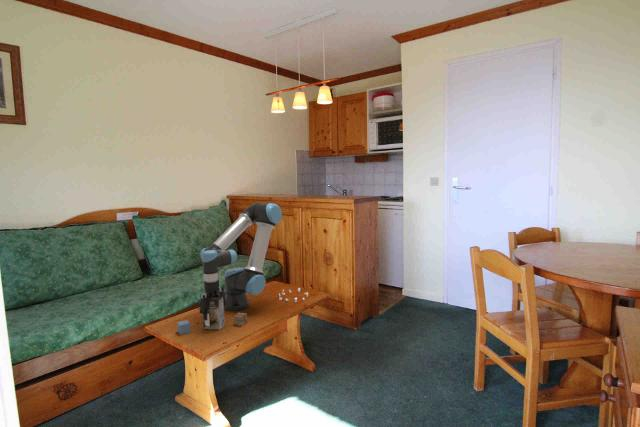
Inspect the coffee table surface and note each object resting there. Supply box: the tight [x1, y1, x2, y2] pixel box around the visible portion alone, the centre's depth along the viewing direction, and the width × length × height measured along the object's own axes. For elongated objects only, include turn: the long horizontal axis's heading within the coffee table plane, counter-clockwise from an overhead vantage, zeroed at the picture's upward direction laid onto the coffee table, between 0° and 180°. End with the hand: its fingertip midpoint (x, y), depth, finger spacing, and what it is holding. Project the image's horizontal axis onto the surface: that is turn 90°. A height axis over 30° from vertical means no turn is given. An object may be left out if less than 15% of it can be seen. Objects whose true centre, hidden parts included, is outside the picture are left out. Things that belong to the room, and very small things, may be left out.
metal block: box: [233, 312, 248, 327], centre depth 198 cm, size 5×5×5 cm
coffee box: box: [202, 295, 226, 330], centre depth 194 cm, size 9×6×16 cm
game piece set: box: [278, 287, 309, 303], centre depth 237 cm, size 19×20×4 cm
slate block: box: [176, 319, 192, 336], centre depth 190 cm, size 5×5×5 cm
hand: (214, 322), depth 195 cm, fingers closed on coffee box, 8 cm apart
